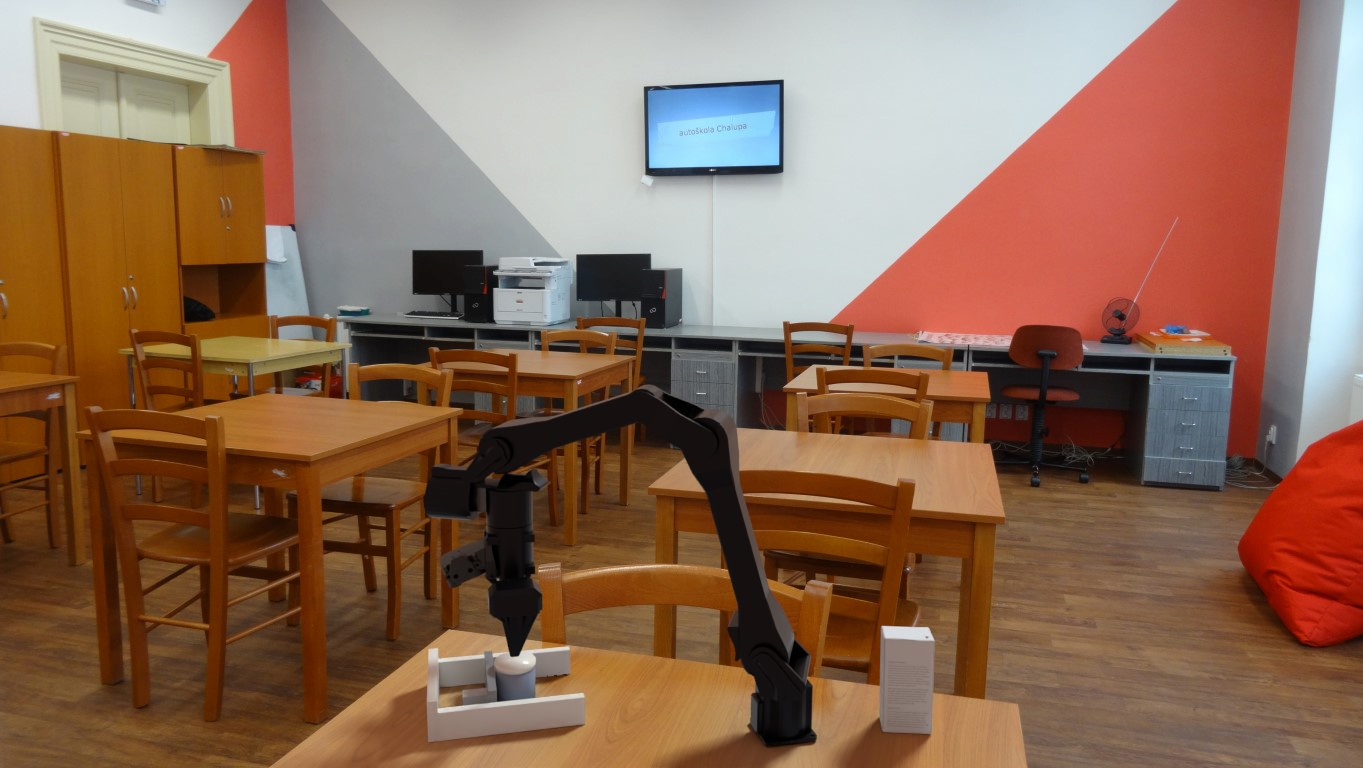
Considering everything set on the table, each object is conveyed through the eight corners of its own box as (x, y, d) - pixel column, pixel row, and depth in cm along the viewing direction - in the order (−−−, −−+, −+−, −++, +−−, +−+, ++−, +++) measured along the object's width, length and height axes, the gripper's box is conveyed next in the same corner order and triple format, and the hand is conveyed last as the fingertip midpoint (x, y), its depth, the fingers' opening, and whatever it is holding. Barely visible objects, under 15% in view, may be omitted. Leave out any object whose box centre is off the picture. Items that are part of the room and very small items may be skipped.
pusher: (492, 681, 127) (491, 650, 127) (497, 724, 116) (496, 690, 115) (462, 685, 126) (461, 653, 126) (463, 728, 115) (462, 693, 114)
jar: (534, 691, 126) (533, 649, 125) (538, 709, 121) (537, 666, 120) (494, 695, 124) (493, 653, 123) (496, 714, 119) (495, 670, 118)
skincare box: (926, 718, 119) (930, 626, 117) (932, 735, 115) (936, 640, 113) (877, 715, 119) (880, 624, 118) (880, 732, 115) (884, 638, 113)
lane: (569, 670, 132) (568, 635, 131) (585, 724, 117) (584, 685, 116) (430, 684, 127) (428, 648, 127) (428, 742, 112) (426, 702, 112)
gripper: (443, 506, 126) (446, 619, 128) (443, 549, 108) (447, 680, 110) (528, 501, 129) (530, 612, 131) (542, 543, 111) (543, 670, 113)
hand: (512, 641), depth 121 cm, fingers open, 9 cm apart
